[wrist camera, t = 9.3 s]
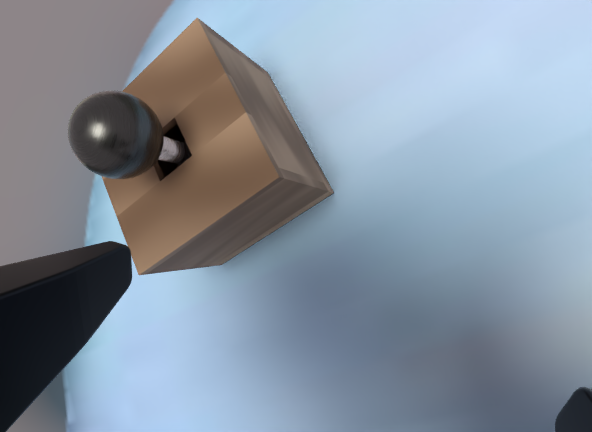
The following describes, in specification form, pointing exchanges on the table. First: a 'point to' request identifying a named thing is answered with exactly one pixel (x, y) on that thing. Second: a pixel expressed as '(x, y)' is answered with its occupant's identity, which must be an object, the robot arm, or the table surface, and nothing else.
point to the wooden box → (213, 159)
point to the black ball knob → (120, 136)
